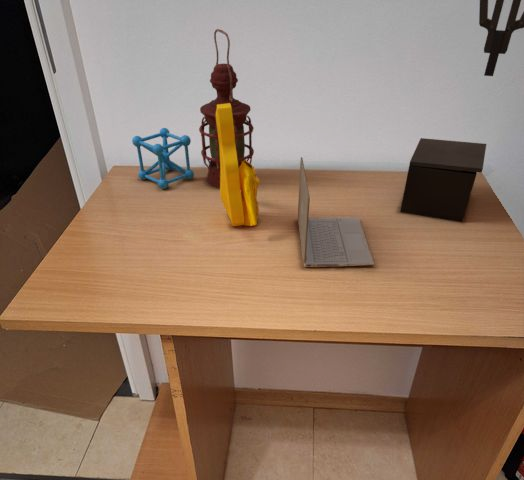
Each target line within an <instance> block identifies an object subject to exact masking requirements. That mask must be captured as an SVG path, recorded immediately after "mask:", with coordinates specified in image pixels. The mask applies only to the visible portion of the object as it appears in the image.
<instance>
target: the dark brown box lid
mask: <svg viewBox="0 0 524 480" xmlns="http://www.w3.org/2000/svg"><path fill="white" fill-rule="evenodd" d="M486 149H487V143H481V142H469V141H458V140H447V139H435V138H424V137H423V138H422V137H420V138H419V141H418V143H417V145H416V147H415V150H414V152H413V154H412V156H411V158H410V161H409V165H411V166H421V167H431V168H440V169H450V170H459V171H469V172H477V173H482V172H483V169H484V162H485V156H486ZM409 165H408V166H409Z"/></svg>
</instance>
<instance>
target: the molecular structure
mask: <svg viewBox="0 0 524 480" xmlns="http://www.w3.org/2000/svg"><path fill="white" fill-rule="evenodd" d="M160 137H161V138H162V144H161V143H155V144H154V145H152V144H150V143H147V141H150V140H153V139H156V138H160ZM168 138H172V139H174V140H177V141H174V142H171V143H169V144H168ZM131 139H132V140H131V143H132V145H133V146H135V147H136V150H137V155H138V156H137V157H138V161H139V167H140V170H139V171H138V173H137V175H138V178H139V179H140V180H142V181H146V180H150V181H152V182H154V183H156V184H157V185H158V188H159V189H161V190H166V189H168V187H169V185H170V184H171V183H174V182H177V181H180V180H183V179H186V180H192V179H194V177H195V172H194V171H193V170H192V169H191V165H190V156H189V146H190V145H191V142H192V141H191V140H192V139H191V137H190V136H189V135H187V134H184V135H182V136H178V135H175V134H173V133H170V130H169V129H168V128H166V127H162V128H160V130H159V132H158V133H155V134H152V135H148V136H145V137H141V136H140V135H134V136H133V138H131ZM141 147H143V148H144V149H145V150H147V151H149V152H150V153H152V154H154V155H155V156H157V161H156V162H155V163H153V164H152V165H151V166H150V167H148V168H147V169H146V170H145V169H144V167H145V166H144V161H143V157H142V150H141ZM181 147H184V154H185V155H184V156H185V163H186V169H185V168H183V167H182V166H180V165H178V164H177V163H175V162H174V161H172V160H171V159H170V156H171V155H173V154H174V153H175V152H176V151H178V150H179V149H180V148H181ZM170 148H172V149H170ZM169 149H170V151H169ZM156 167H157V168H156ZM173 170H174V171H176V172H179V173H181V175H179V176H176V177H173V178H170V179H168V180H167V178H166V171H167V172H172V171H173ZM158 172H159V175H160V178H159V179H158V178H155V177H153V176H151V175H153V174H154V173H155V174H156V173H158Z"/></svg>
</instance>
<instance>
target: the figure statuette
mask: <svg viewBox="0 0 524 480" xmlns="http://www.w3.org/2000/svg"><path fill="white" fill-rule="evenodd" d="M216 123H217V131H218V139H219V149H220V188H219V197H220V200H221V203H222V206H223V207H224V209H225V211H226V214H227V216H228V218H229V220H230V223H231V227H239V226H240V227H241V226H247V227H255V226H257V225H258V219H259V218H258V217H259V212H260V209H259V203H258V199H257V198H258V197H257V196H258V187H259V184H260V182H261V180H260V179H259V177H258V176H257V172H256V170H255V167H254V165H253V164H252V163H251V164H250V161H249V160H248V161H247V159H246V160H244V161H242V164H241V165H240V167H239V168H238V160H237V153H236V146H235V135H234V124H233V115H232V107H231V104H230V103H227V104H218V105H217V109H216Z"/></svg>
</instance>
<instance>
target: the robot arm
mask: <svg viewBox="0 0 524 480" xmlns="http://www.w3.org/2000/svg"><path fill="white" fill-rule="evenodd" d="M504 2H505V0H495V4H494V7H493V12H492V15H491V18H489V17H488V16H489V0H479V12H478V13H479V15H478V16H479V17H478V25H479V26H480V27H481V28H484V29H486V30H487V35H486V38H485V39H486V40H485V44H484V47H483V53H484V54H489V55H488V58H487V62H486V66H485V71H484V75H483V76H484V77H494V74H495V71H496V68H497V67H496V66H497V63H498V58H499V56H500V55H506V53H507V51H508V49H509V45H510V41H511V39H512V35H513V33H514V32H515V31H518V30H521V29H524V11H523V12H522V14H521V16H520V18H519V19H517V16H518V14H519V9H520V6H521V2H522V0H512V2H511V6H510V9H509V13H508V18H507V21H506V24H505V29H504V30H502V29H498V25H499V22H500V17H501V13H502V9H503V6H504Z"/></svg>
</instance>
